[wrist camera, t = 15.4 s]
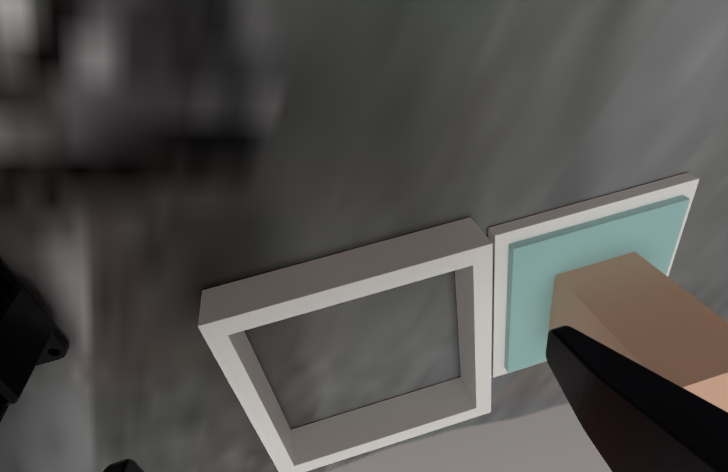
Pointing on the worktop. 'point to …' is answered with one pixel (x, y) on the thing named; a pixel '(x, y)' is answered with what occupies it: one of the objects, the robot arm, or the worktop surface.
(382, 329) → the worktop surface
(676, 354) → the block
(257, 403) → the pale grey square frame
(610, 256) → the lid
